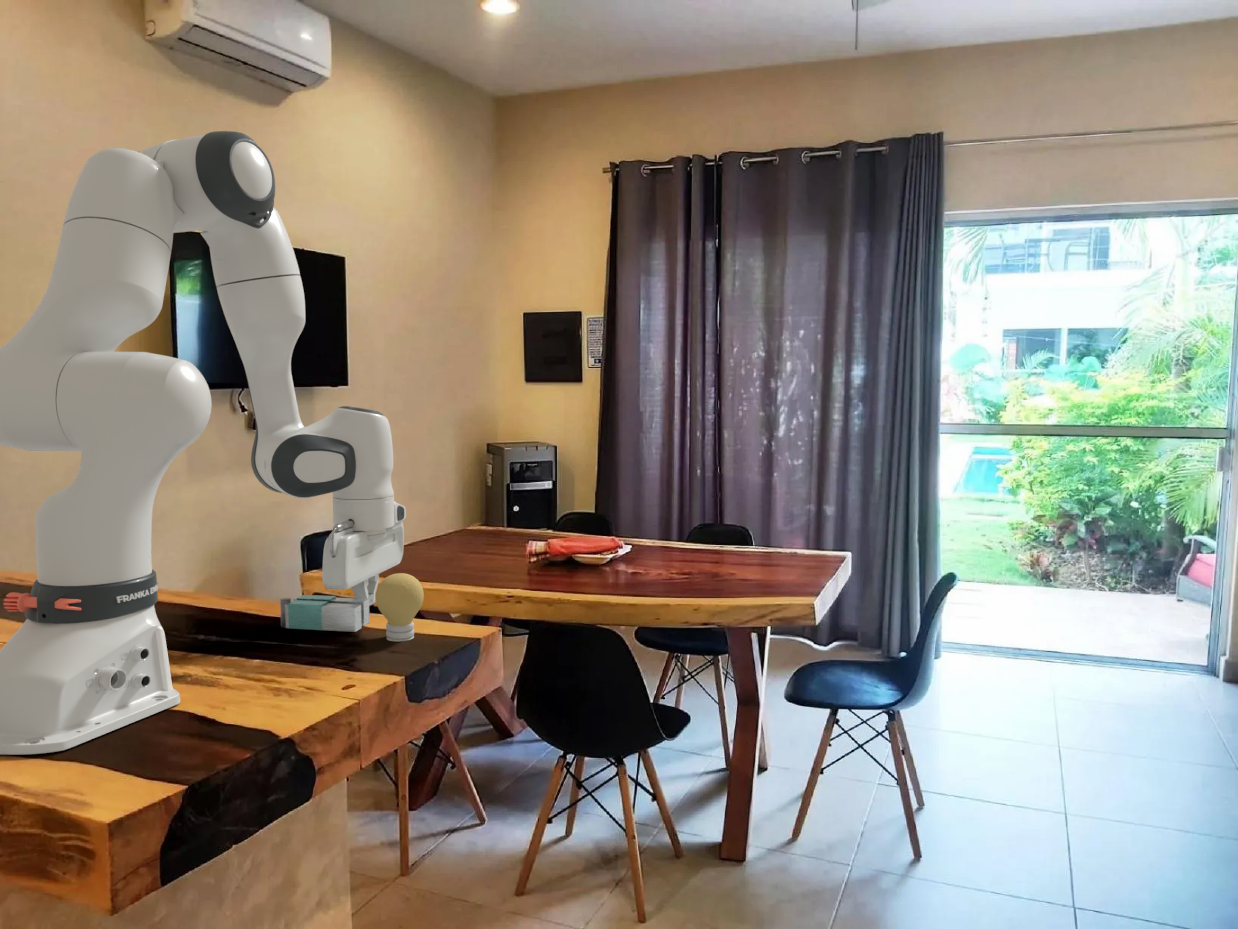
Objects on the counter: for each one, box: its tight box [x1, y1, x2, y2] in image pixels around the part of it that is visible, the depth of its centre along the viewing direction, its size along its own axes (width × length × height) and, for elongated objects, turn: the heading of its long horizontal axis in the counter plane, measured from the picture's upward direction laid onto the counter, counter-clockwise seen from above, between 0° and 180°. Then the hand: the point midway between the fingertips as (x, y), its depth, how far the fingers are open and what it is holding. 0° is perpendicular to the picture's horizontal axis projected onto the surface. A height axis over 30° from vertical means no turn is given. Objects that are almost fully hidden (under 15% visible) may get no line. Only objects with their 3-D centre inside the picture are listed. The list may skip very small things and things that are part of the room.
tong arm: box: [293, 594, 370, 627], centre depth 130 cm, size 2×10×4 cm, turn 84°
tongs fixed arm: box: [279, 597, 363, 633], centre depth 128 cm, size 2×12×4 cm, turn 81°
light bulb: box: [375, 572, 425, 642], centre depth 123 cm, size 6×6×10 cm
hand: (365, 606), depth 136 cm, fingers closed
